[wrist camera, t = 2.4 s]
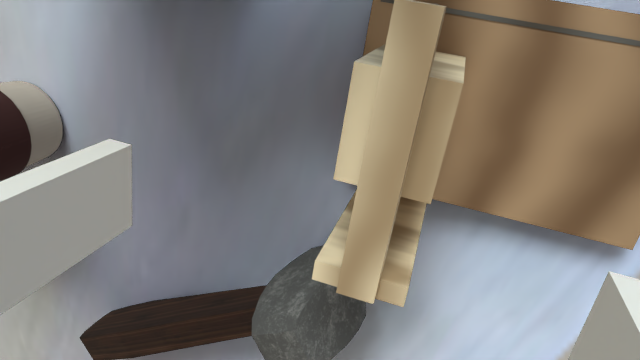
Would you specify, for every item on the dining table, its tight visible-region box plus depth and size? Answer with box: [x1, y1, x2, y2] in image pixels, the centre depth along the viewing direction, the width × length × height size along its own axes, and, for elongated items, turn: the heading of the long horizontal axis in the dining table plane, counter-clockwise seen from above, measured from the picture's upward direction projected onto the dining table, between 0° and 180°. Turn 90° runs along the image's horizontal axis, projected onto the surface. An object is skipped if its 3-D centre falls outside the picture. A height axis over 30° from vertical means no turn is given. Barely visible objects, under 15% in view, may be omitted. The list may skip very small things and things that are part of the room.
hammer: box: [80, 246, 366, 360], centre depth 42 cm, size 5×11×30 cm
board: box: [363, 0, 640, 250], centre depth 32 cm, size 20×14×2 cm
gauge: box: [312, 0, 466, 307], centre depth 28 cm, size 5×14×13 cm, turn 170°
